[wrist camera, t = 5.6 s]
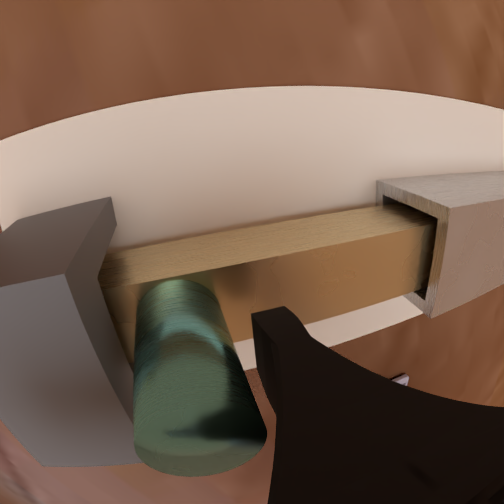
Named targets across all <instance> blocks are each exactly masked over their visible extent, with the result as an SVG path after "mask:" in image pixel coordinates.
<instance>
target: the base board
mask: <svg viewBox="0 0 504 504" xmlns="http://www.w3.org/2000/svg"><path fill="white" fill-rule="evenodd" d="M489 171H504V110H503V109H499V108H495V107H490V106H486V105H482V104H477V103H472V102H467V101H462V100H457V99H452V98H446V97H440V96H433V95H427V94H420V93H412V92H404V91H394V90H384V89H372V88H357V87H335V86H277V87H255V88H239V89H227V90H216V91H207V92H198V93H190V94H182V95H175V96H169V97H162V98H156V99H151V100H145V101H139V102H134V103H129V104H124V105H120V106H115V107H110V108H106V109H102V110H97V111H93V112H89V113H85V114H82V115H78V116H74V117H70V118H67V119H63V120H60V121H57V122H53V123H50V124H47V125H44V126H40V127H37V128H34V129H31V130H28V131H25V132H22V133H20V134H17V135H14V136H11V137H9V138H6V139H3V140H1V141H0V225H1V228H2V232H3V231H4V230H5V229H7V228H8V227H9V226H10V225H11V224H13V223H14V222H15V221H16V220H18V219H21V218H25V217H29V216H32V215H36V214H40V213H43V212H47V211H51V210H55V209H59V208H63V207H67V206H71V205H75V204H79V203H84V202H88V201H92V200H97V199H101V198H106V197H110V196H111V199H112V204H113V208H114V213H115V218H116V222H117V226H116V228H115V231H114V233H113V236H112V239H111V241H110V244H109V246H108V249H107V252H106V254H110V253H115V252H120V251H125V250H130V249H135V248H140V247H145V246H150V245H156V244H161V243H166V242H171V241H176V240H182V239H187V238H192V237H198V236H203V235H209V234H214V233H220V232H225V231H231V230H236V229H242V228H248V227H253V226H259V225H265V224H271V223H277V222H282V221H288V220H294V219H300V218H306V217H312V216H319V215H325V214H331V213H337V212H343V211H350V210H356V209H363V208H369V207H375V204H376V180H380V179H390V178H401V177H412V176H425V175H438V174H452V173H469V172H489ZM422 313H423V312H422V311H421V310H420V309H418V308H417V307H416V306H415V305H414V304H412V303H411V302H410V301H409V300H407V299H406V298H405V297H404V296H399V297H396V298H393V299H390V300H387V301H384V302H381V303H378V304H374V305H371V306H368V307H365V308H362V309H359V310H355V311H352V312H349V313H345V314H342V315H339V316H335V317H332V318H328V319H325V320H321V321H318V322H314V323H310V324H307V325H304V327H305V328H306V330H307V331H308V333H309V334H310V336H311V337H313V338H314V339H316V340H317V341H319V342H320V343H322V344H323V345H325V346H327V347H330V346H334V345H337V344H340V343H343V342H346V341H349V340H352V339H355V338H358V337H361V336H364V335H367V334H369V333H372V332H375V331H378V330H381V329H383V328H386V327H389V326H391V325H394V324H397V323H399V322H402V321H405V320H407V319H410V318H412V317H415V316H417V315H420V314H422ZM234 346H235V348H236V351H237V354H238V356H239V359H240V362H241V364H242V367H243V370H248V369H252V368H256V367H257V366H256V357H255V348H254V339H253V338H252V339H248V340H244V341H239V342H235V343H234Z"/></svg>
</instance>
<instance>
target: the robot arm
mask: <svg viewBox="0 0 504 504" xmlns="http://www.w3.org/2000/svg"><path fill="white" fill-rule="evenodd" d="M251 321H252V330H253V339H254V348H255V357H256V366H257V370H258V373H259V376H260V379H261V382H262V384H263V387H264V390H265V393H266V395H267V398H268V400H269V402H270V404H271V406H272V408H273V410H274V412H275V413H276V438H275V452H274V462H273V470H272V477H271V484H270V492H269V498H268V504H504V407H494V406H485V405H478V404H472V403H467V402H462V401H457V400H452V399H448V398H444V397H440V396H436V395H433V394H430V393H426V392H423V391H420V390H417V389H414V388H411V387H408V386H407V383H408V380H409V377H408V376H407V374H404V375H402V376H400V377H398V378H395V379H393V380H390V379H387V378H385V377H383V376H381V375H378V374H376V373H374V372H371V371H369V370H367V369H365V368H363V367H361V366H359V365H357V364H356V363H354V362H352V361H350V360H348V359H346V358H345V357H343V356H341V355H339V354H338V353H336V352H334V351H333V350H331V349H330V348H328V347H327V346H325V345H323V344H322V343H320V342H319V341H317V340H316V339H314V338H313V337H311V336H310V334H309V333H308V331H307V330H306V328H305V327H304V325H303V324H302V322H301V321H300V320H299V318H298V317H297V316H296V315H295V314H294V313H293V312H292V311H290V310H289V309H288V308H287V307H285V306H281V307H277V308H273V309H268V310H264V311H260V312H255V313H251Z"/></svg>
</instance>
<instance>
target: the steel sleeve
mask: <svg viewBox="0 0 504 504" xmlns="http://www.w3.org/2000/svg"><path fill="white" fill-rule="evenodd" d="M396 203H405V204H407V205H409V206H411V207H414V208H416V209H418V210H421V211H423V212H425V213H427V214H430V215H432V216H434V217H436V218H438V223H437V231H436V239H435V247H434V253H433V260H432V266H431V272H430V278H429V283H428V287H425V288H422V289H419V290H416V291H414V292H411V293H408V294H405V295H402V296H404V297H405V298H406V299H407V300H409V301H410V302H411V303H412V304H414V305H415V306H416V307H417V308H418V309H420V310H421V311H422V312H423V313H424V314H426V315H427V316H428V317H429V318H430V319H431V318H434V317H436V316H438V315H440V314H443V313H445V312H447V311H449V310H451V309H454V308H456V307H458V306H460V305H462V304H464V303H466V302H468V301H471V300H473V299H475V298H477V297H479V296H481V295H483V294H485V293H487V292H489V291H491V290H492V289H494V288H496V287H498V286H500V285H502V284H504V171H489V172H469V173H452V174H438V175H425V176H412V177H401V178H390V179H380V180H376V204H375V207H376V206H382V205H389V204H396Z"/></svg>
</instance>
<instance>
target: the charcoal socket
mask: <svg viewBox="0 0 504 504" xmlns="http://www.w3.org/2000/svg"><path fill="white" fill-rule="evenodd" d="M116 226H117V222H116V218H115V213H114V208H113V204H112V199H111V196H110V197H106V198H101V199H97V200H92V201H88V202H84V203H79V204H75V205H71V206H67V207H63V208H59V209H55V210H51V211H47V212H43V213H40V214H36V215H32V216H29V217H25V218H21V219H18V220H16V221H15V222H14V223H13V224H11V225H10V226H9V227H8V228H7V229H5V230H4V231H3V232H2V233H1V234H0V419H1V421H2V422H3V423H4V424H5V426H6V427H7V428H8V429H9V430H10V432H11V433H12V434H13V435H14V436H15V437H16V439H17V440H18V441H19V442H20V443H21V444H22V445H23V446H24V448H25V449H26V450H27V451H28V452H29V453H30V454H31V455H32V456H33V457H34V458H35V459H36V460H37V461H38V462H39V463H40V464H41V465H42V466H48V467H89V466H111V465H124V464H135V463H144V462H143V461H141V459H140V458H139V457H138V456H137V454H136V452H135V449H134V427H133V372H134V362H132V363H128V361H127V358H126V356H125V353H124V351H123V348H122V346H121V343H120V341H119V338H118V336H117V333H116V331H115V328H114V325H113V323H112V320H111V317H110V314H109V311H108V309H107V306H106V303H105V300H104V297H103V294H102V291H101V288H100V285H99V282H98V279H97V277H98V274H99V271H100V268H101V265H102V263H103V260H104V257H105V254H106V252H107V249H108V246H109V244H110V241H111V239H112V236H113V233H114V231H115V228H116Z"/></svg>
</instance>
